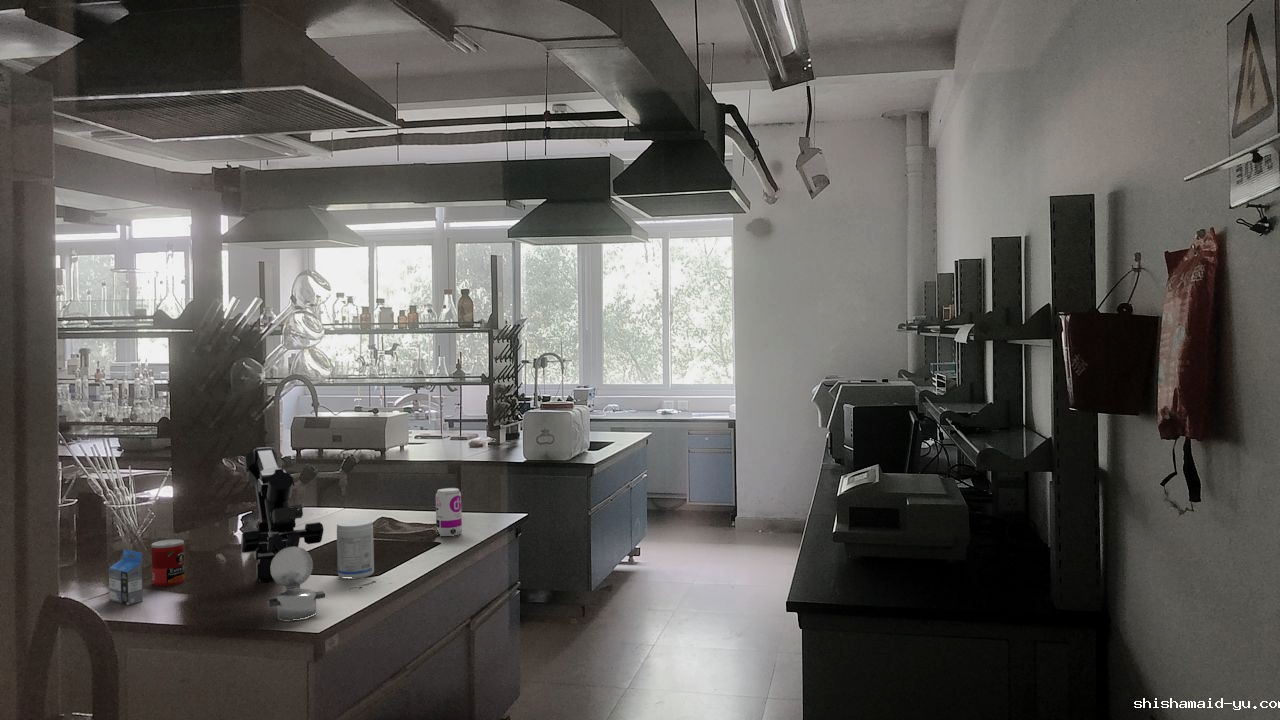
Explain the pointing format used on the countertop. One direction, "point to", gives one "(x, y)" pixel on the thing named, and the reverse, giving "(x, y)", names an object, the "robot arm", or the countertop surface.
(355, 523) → the supplement tub
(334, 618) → the countertop surface
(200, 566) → the countertop surface
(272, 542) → the robot arm
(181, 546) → the canned food
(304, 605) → the pot
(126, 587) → the blue and grey carton
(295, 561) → the lid
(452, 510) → the supplement can
